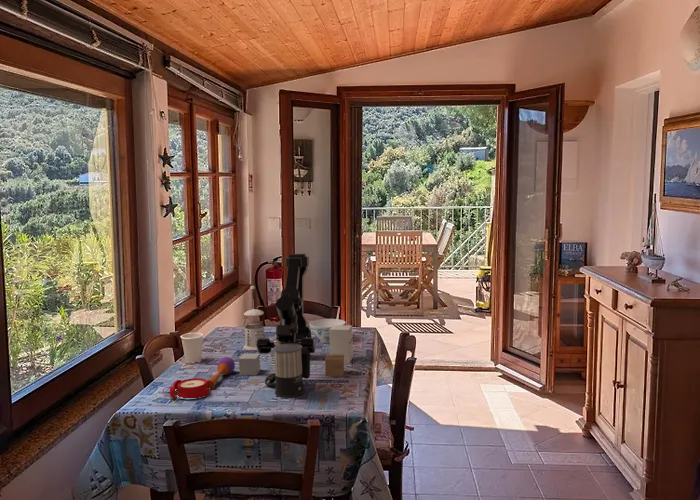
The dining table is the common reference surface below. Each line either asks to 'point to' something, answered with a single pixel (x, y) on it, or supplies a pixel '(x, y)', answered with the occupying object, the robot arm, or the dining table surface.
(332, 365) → the walnut block
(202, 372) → the dining table surface
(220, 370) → the kendama
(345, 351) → the supplement box
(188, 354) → the dixie cup
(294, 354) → the milk frother
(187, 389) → the alarm clock
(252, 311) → the french press
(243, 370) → the beige block
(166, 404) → the dining table surface
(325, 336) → the chinaware
